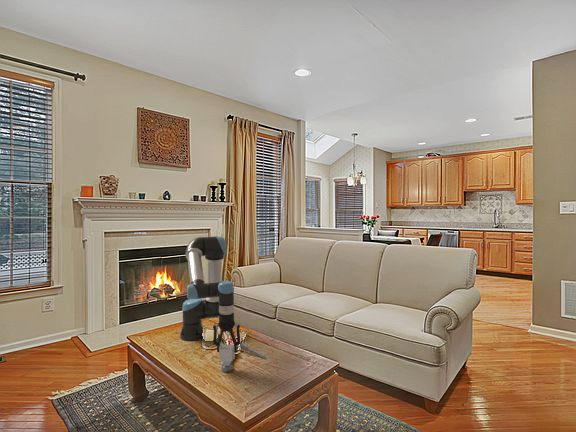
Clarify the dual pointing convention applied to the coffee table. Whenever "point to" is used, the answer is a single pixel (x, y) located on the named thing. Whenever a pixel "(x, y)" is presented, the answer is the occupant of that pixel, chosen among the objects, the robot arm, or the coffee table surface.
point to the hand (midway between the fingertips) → (227, 358)
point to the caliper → (251, 350)
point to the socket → (226, 353)
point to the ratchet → (227, 367)
